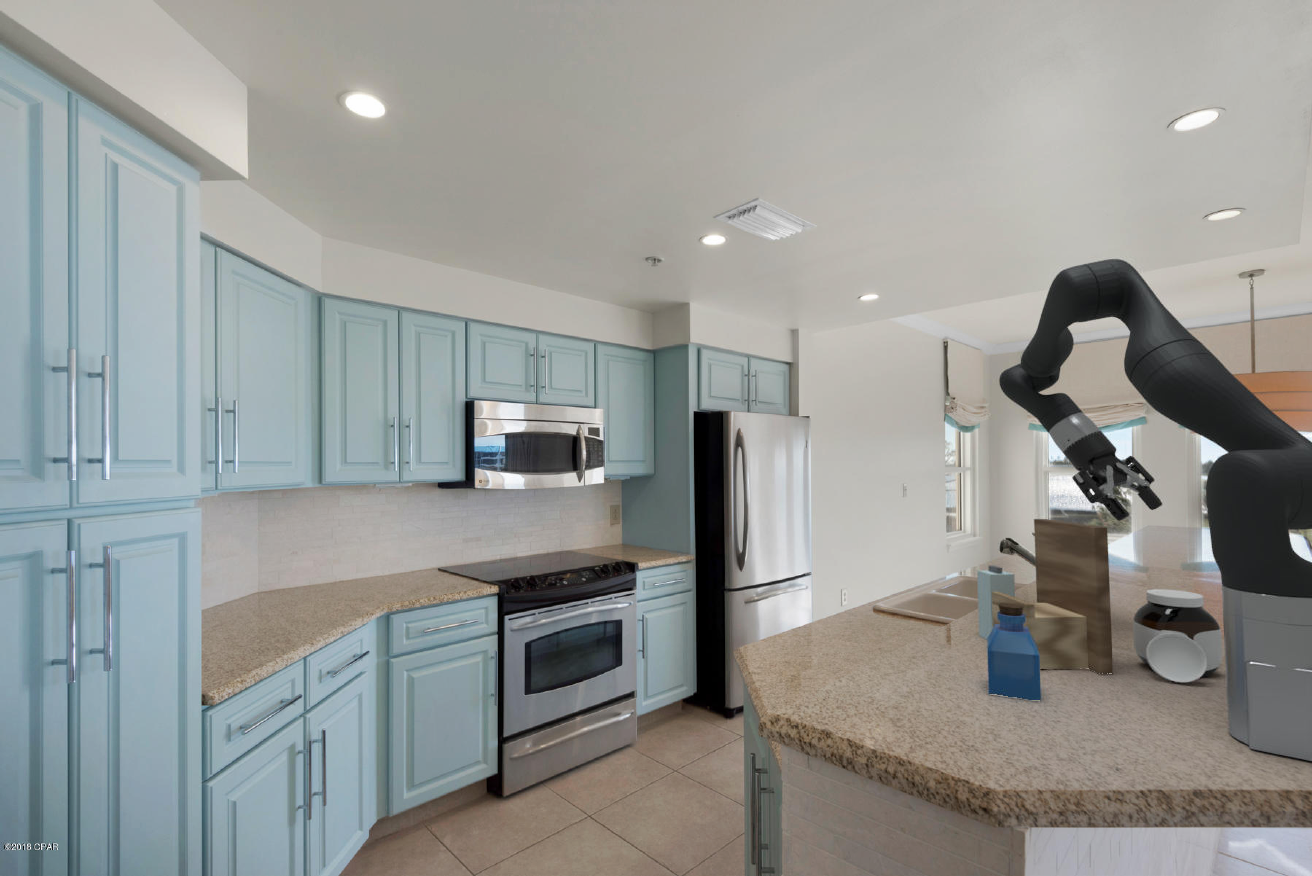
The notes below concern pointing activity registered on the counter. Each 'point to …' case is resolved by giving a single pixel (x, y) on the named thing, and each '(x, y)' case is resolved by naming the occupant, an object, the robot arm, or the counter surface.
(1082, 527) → the cleat board
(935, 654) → the counter surface
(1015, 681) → the perfume bottle
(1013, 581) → the pale blue tall block
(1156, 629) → the spread jar
